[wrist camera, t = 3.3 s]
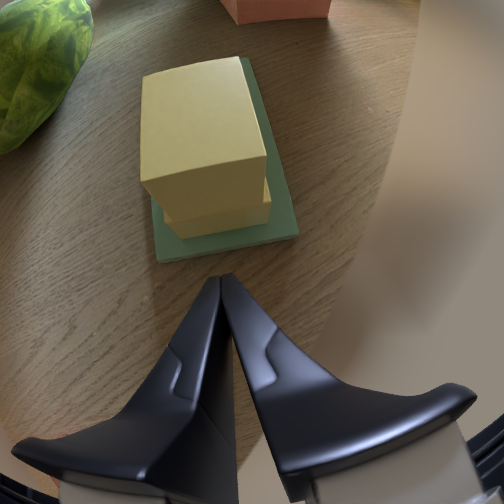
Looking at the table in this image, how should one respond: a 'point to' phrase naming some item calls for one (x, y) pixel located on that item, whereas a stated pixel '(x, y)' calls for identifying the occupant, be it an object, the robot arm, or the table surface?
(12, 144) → the lettuce
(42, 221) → the table surface
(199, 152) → the butter slab
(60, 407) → the table surface
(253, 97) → the butter dish
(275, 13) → the house
